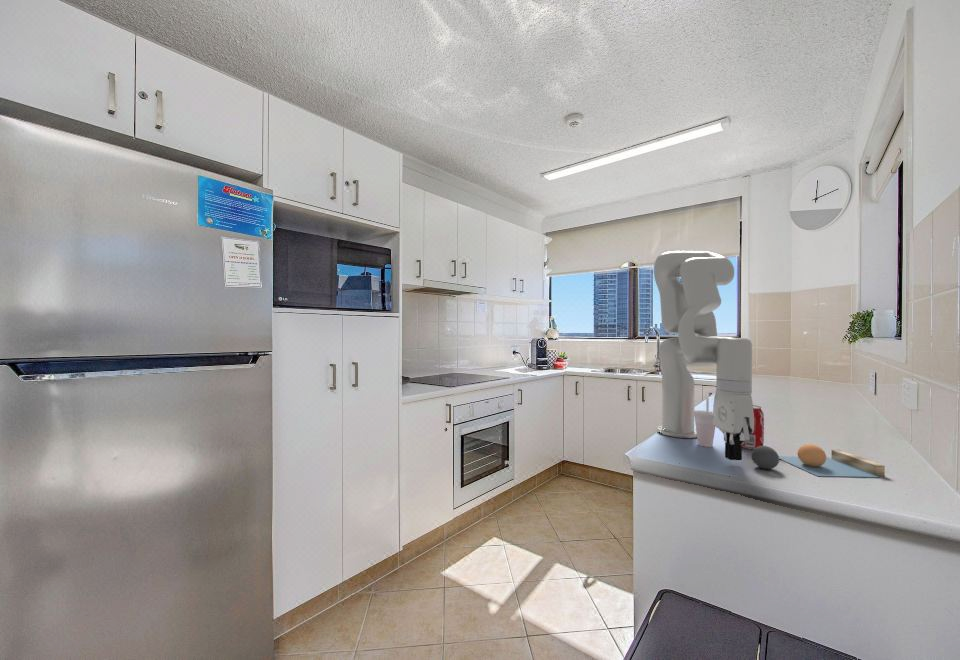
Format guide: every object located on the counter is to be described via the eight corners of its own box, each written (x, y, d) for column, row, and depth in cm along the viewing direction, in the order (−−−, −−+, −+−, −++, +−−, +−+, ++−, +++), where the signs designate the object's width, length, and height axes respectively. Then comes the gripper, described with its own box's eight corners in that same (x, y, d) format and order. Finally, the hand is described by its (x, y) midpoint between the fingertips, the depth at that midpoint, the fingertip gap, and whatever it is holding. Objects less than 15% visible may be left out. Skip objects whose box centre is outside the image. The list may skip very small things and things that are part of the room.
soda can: (754, 443, 117) (754, 404, 117) (769, 451, 110) (769, 408, 110) (729, 443, 117) (729, 403, 117) (743, 450, 110) (743, 408, 110)
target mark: (774, 456, 105) (774, 456, 105) (828, 457, 104) (828, 457, 104) (817, 476, 91) (817, 475, 91) (880, 477, 90) (880, 476, 90)
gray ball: (776, 442, 96) (771, 460, 98) (751, 439, 98) (746, 456, 100) (785, 457, 91) (779, 475, 94) (758, 454, 93) (753, 471, 95)
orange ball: (811, 439, 100) (815, 460, 100) (790, 443, 100) (794, 464, 100) (830, 445, 95) (834, 468, 94) (807, 449, 95) (811, 472, 95)
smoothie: (713, 449, 111) (713, 400, 111) (689, 444, 115) (689, 397, 115) (721, 445, 115) (721, 398, 115) (697, 440, 120) (698, 395, 120)
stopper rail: (831, 459, 103) (831, 449, 103) (839, 459, 103) (839, 449, 103) (875, 476, 91) (875, 465, 91) (884, 476, 91) (884, 465, 91)
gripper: (702, 382, 106) (702, 449, 106) (736, 391, 91) (736, 469, 91) (731, 382, 105) (730, 450, 105) (769, 391, 91) (769, 470, 91)
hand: (733, 458), depth 98 cm, fingers closed
